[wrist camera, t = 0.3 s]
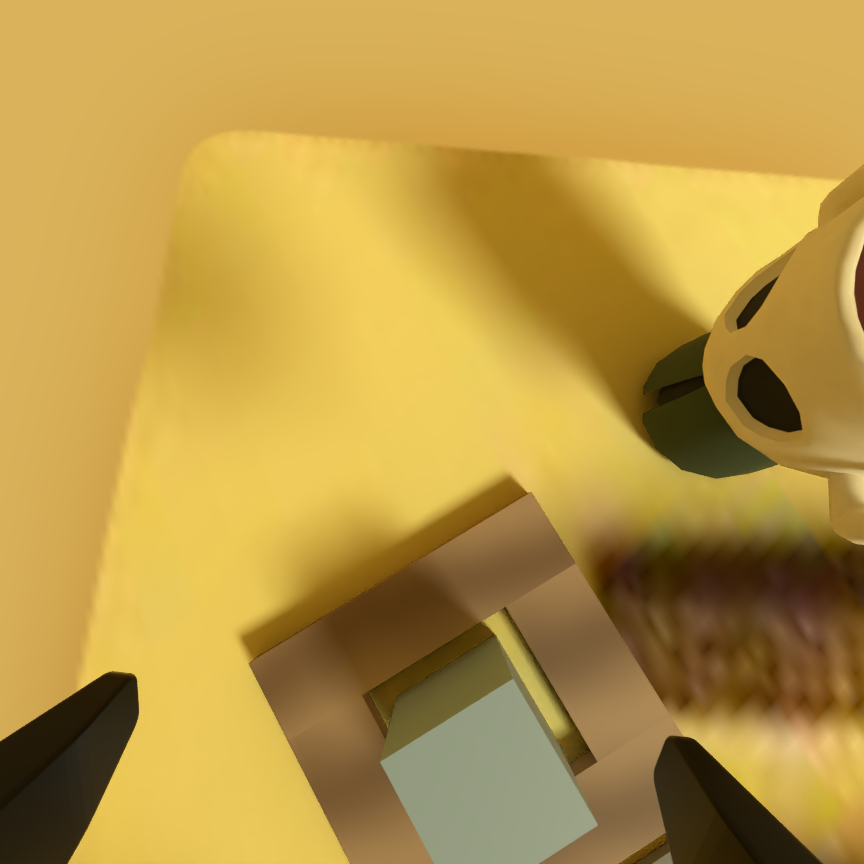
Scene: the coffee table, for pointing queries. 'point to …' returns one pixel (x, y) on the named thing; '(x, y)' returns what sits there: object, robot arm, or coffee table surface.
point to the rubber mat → (658, 856)
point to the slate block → (482, 766)
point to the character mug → (780, 370)
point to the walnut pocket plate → (437, 625)
